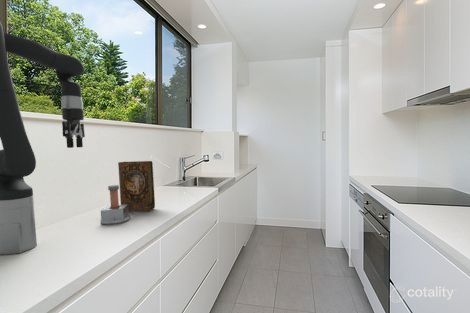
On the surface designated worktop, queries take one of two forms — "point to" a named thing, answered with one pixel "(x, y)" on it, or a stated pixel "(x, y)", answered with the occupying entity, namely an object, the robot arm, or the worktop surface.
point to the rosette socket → (115, 215)
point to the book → (137, 185)
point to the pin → (114, 196)
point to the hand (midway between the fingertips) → (75, 147)
